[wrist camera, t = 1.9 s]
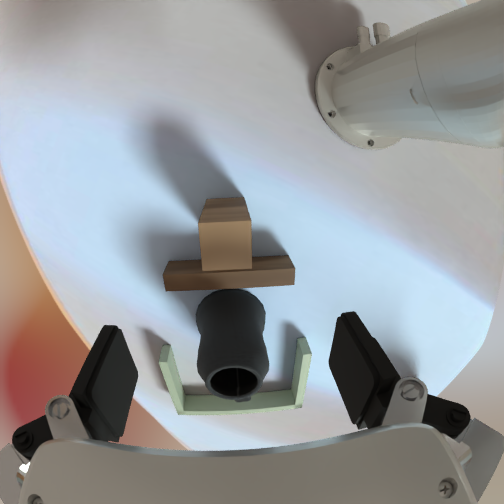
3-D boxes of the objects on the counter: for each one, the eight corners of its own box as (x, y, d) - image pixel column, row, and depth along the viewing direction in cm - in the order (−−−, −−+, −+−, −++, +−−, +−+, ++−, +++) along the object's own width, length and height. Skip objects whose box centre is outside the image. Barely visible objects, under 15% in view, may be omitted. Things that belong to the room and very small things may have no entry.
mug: (188, 293, 33) (175, 358, 22) (261, 283, 33) (276, 345, 23) (209, 361, 37) (207, 424, 27) (270, 352, 38) (283, 414, 27)
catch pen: (162, 345, 36) (158, 362, 32) (305, 337, 37) (311, 353, 34) (179, 399, 41) (178, 414, 38) (297, 392, 42) (301, 407, 39)
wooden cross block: (161, 202, 28) (136, 227, 20) (290, 196, 29) (315, 218, 21) (171, 276, 32) (155, 321, 23) (287, 270, 33) (307, 313, 24)
